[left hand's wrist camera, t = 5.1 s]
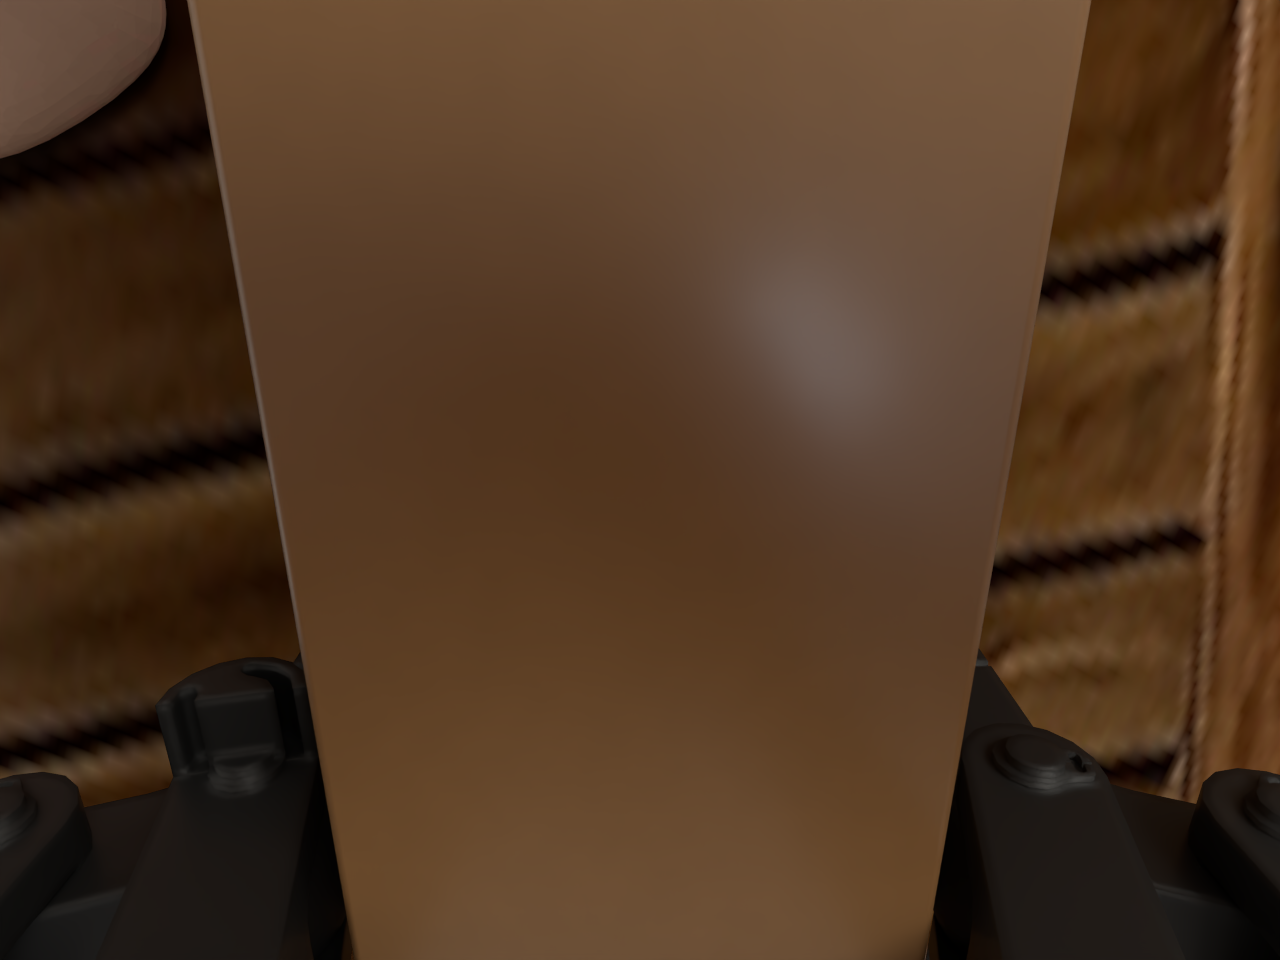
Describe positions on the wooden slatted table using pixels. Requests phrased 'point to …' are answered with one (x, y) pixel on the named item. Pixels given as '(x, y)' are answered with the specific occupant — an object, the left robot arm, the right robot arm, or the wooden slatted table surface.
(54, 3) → the anatomical model
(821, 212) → the bar
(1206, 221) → the wooden slatted table surface
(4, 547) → the wooden slatted table surface
